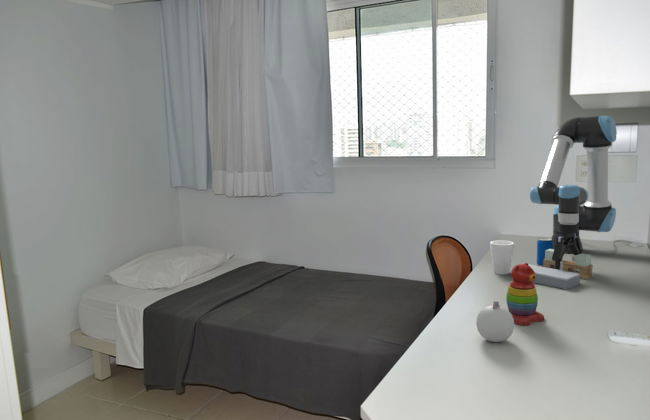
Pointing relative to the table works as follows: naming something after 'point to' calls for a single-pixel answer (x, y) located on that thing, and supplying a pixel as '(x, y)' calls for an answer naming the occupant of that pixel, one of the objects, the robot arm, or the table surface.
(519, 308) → the stacking bear
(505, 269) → the foam cup
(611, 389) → the table surface
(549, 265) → the tan wooden bar
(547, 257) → the block
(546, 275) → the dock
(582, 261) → the block
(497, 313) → the ornament
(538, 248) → the beverage can
